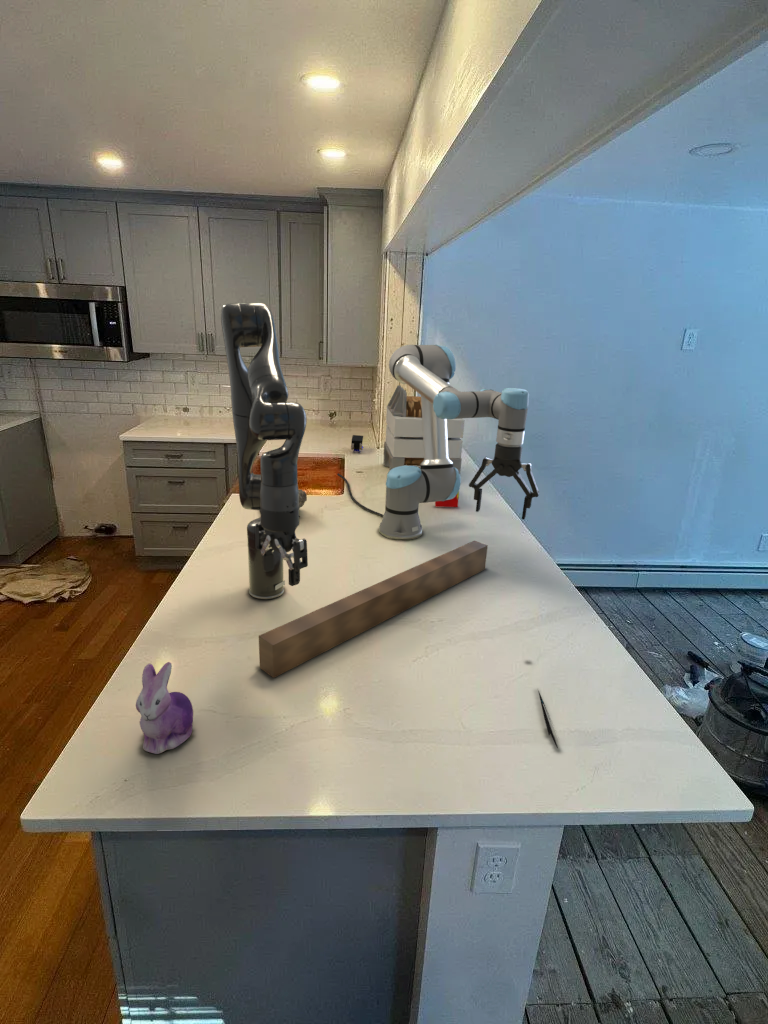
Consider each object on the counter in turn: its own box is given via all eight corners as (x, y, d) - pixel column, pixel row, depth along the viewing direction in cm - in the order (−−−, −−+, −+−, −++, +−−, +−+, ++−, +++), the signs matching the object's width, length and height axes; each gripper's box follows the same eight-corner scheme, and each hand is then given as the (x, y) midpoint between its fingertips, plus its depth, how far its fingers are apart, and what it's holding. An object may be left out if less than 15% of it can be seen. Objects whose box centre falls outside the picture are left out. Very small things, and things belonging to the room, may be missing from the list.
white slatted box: (382, 463, 289) (386, 382, 275) (445, 464, 293) (451, 384, 279) (390, 482, 257) (394, 392, 243) (460, 483, 261) (468, 394, 247)
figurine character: (362, 456, 306) (363, 447, 319) (363, 443, 302) (363, 434, 316) (350, 456, 306) (351, 446, 319) (350, 442, 302) (351, 433, 316)
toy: (452, 465, 253) (463, 475, 224) (451, 495, 256) (461, 508, 227) (425, 464, 253) (433, 474, 224) (424, 494, 256) (431, 507, 226)
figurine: (143, 764, 96) (134, 690, 91) (137, 726, 105) (128, 657, 100) (201, 747, 100) (195, 676, 95) (190, 712, 109) (184, 645, 104)
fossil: (276, 495, 220) (305, 474, 215) (292, 513, 223) (321, 493, 218) (259, 520, 201) (291, 498, 196) (277, 540, 204) (309, 519, 199)
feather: (529, 666, 130) (534, 660, 129) (557, 753, 103) (564, 745, 103) (523, 662, 130) (528, 656, 129) (550, 748, 103) (556, 741, 103)
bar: (471, 564, 179) (474, 540, 176) (485, 569, 175) (487, 545, 173) (259, 667, 123) (258, 635, 121) (273, 678, 120) (272, 645, 117)
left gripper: (242, 498, 114) (246, 571, 119) (286, 517, 105) (288, 595, 110) (273, 491, 119) (275, 561, 125) (317, 508, 110) (317, 583, 116)
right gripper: (463, 441, 162) (456, 511, 169) (553, 452, 154) (541, 525, 161) (469, 436, 168) (462, 503, 176) (555, 447, 160) (544, 517, 168)
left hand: (281, 577), depth 118 cm, fingers open, 8 cm apart
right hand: (500, 514), depth 168 cm, fingers open, 13 cm apart
